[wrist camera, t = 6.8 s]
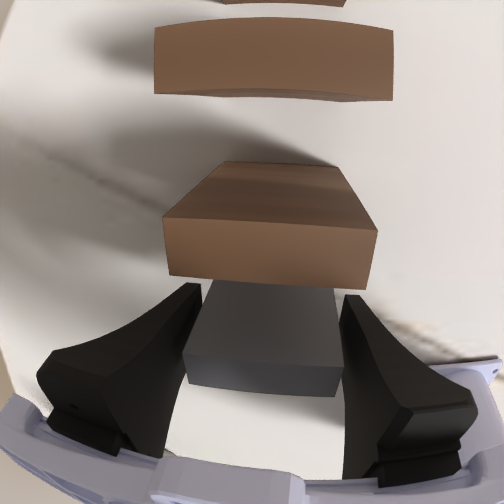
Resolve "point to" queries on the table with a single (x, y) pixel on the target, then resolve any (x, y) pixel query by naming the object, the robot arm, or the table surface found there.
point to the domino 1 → (327, 0)
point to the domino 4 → (266, 340)
